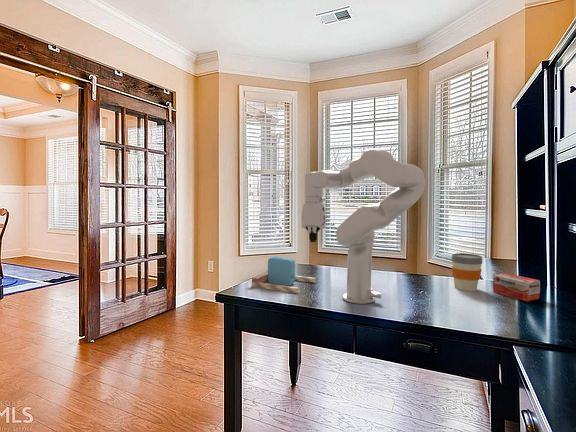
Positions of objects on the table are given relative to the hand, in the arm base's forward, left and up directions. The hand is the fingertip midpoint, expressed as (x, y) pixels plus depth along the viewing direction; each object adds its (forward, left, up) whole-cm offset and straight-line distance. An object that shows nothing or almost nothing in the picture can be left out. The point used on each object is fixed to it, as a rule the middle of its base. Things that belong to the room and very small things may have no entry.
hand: (313, 241), depth 159 cm
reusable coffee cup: (-62, -32, -21) cm, 73 cm away
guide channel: (+14, 0, -21) cm, 25 cm away
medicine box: (-81, -30, -21) cm, 89 cm away
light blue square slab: (+16, -1, -21) cm, 27 cm away
